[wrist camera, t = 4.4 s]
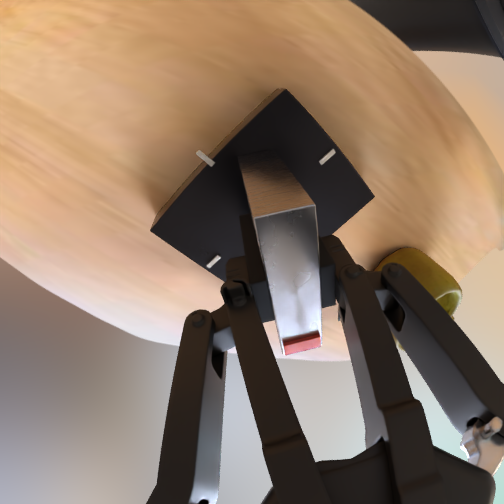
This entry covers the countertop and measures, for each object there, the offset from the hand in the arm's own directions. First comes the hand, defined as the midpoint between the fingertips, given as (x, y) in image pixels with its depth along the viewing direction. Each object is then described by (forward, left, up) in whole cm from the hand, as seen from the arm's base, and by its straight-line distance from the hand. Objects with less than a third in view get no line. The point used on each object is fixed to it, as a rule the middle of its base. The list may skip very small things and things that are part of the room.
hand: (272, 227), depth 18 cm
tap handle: (0, 0, -2) cm, 2 cm away
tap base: (0, 0, -5) cm, 5 cm away
